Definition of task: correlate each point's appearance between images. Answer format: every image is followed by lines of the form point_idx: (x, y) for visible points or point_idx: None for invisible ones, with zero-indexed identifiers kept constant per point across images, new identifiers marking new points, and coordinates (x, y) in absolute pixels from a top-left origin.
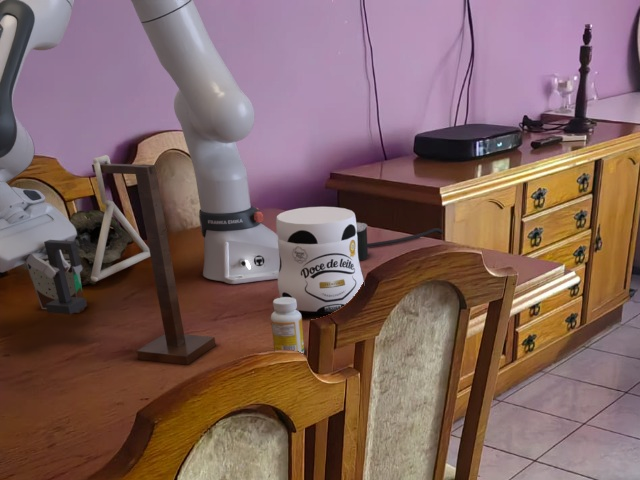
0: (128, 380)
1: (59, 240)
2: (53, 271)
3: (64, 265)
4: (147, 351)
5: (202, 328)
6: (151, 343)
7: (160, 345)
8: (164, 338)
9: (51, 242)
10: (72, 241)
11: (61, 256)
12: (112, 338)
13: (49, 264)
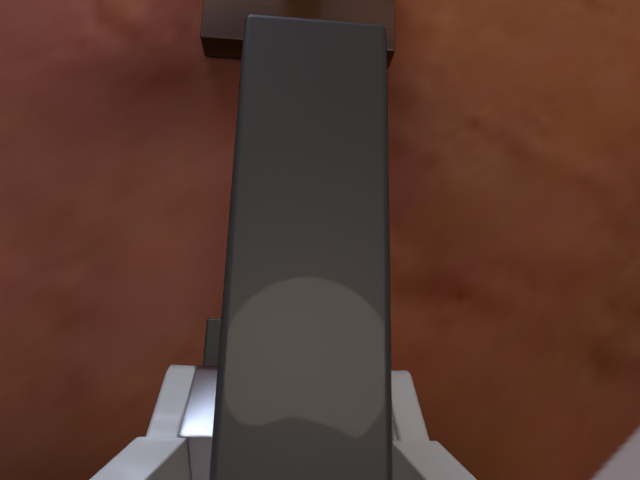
0: (534, 22)
1: (239, 320)
2: (409, 377)
3: None
4: (389, 16)
5: (63, 3)
6: None
7: (328, 2)
8: None
9: (389, 394)
10: (261, 59)
11: (141, 460)
12: (222, 260)
13: (396, 438)
